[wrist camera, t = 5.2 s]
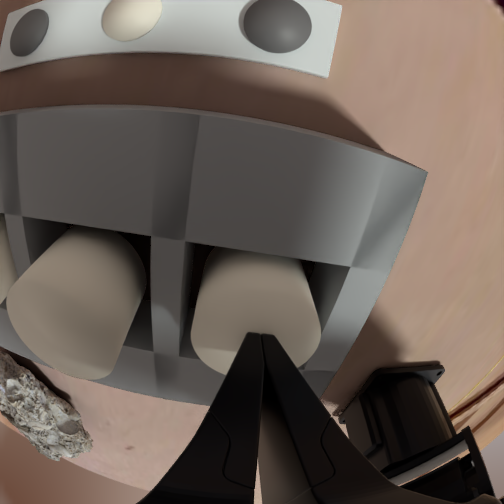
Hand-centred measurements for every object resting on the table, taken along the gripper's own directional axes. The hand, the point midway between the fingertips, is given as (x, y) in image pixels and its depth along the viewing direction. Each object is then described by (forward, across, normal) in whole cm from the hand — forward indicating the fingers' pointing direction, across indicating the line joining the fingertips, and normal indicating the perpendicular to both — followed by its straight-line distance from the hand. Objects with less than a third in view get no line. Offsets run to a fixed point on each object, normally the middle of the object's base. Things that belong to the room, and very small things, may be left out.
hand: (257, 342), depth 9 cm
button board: (+4, +6, 0) cm, 7 cm away
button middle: (+2, +6, 0) cm, 6 cm away
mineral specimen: (+4, +16, +16) cm, 22 cm away
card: (+4, +6, -10) cm, 12 cm away
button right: (+4, 0, 0) cm, 4 cm away
